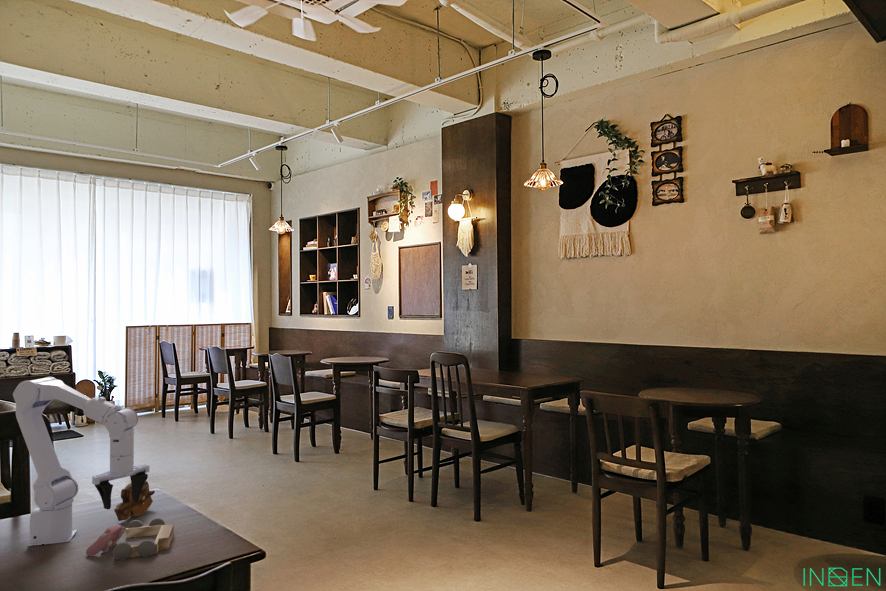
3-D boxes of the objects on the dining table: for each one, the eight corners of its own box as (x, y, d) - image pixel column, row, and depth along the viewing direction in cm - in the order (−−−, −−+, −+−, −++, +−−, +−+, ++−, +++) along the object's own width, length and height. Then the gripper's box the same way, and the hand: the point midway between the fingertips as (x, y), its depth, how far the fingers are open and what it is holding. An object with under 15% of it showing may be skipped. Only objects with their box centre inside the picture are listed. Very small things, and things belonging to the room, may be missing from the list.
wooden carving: (128, 526, 174) (128, 491, 174) (113, 526, 175) (113, 491, 175) (157, 506, 191) (157, 475, 191) (143, 506, 191) (143, 475, 191)
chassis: (112, 561, 151) (112, 545, 151) (127, 535, 167) (127, 520, 167) (166, 554, 154) (166, 539, 154) (175, 530, 171) (175, 515, 171)
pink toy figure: (98, 563, 153) (111, 538, 153) (82, 555, 153) (95, 530, 153) (120, 547, 163) (131, 524, 163) (105, 539, 163) (116, 516, 163)
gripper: (101, 462, 156) (101, 515, 156) (155, 450, 168) (155, 499, 168) (88, 458, 160) (87, 509, 160) (141, 447, 172) (141, 495, 172)
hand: (121, 504), depth 164 cm, fingers open, 7 cm apart
